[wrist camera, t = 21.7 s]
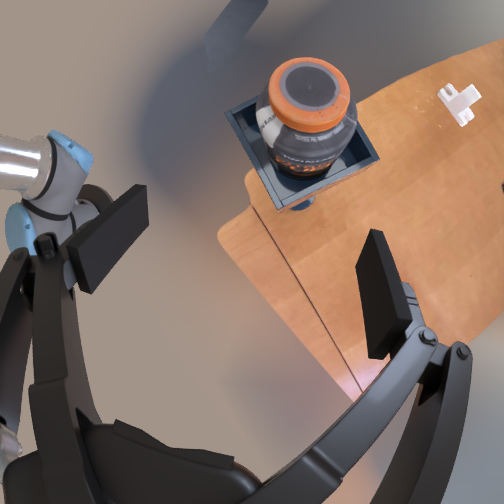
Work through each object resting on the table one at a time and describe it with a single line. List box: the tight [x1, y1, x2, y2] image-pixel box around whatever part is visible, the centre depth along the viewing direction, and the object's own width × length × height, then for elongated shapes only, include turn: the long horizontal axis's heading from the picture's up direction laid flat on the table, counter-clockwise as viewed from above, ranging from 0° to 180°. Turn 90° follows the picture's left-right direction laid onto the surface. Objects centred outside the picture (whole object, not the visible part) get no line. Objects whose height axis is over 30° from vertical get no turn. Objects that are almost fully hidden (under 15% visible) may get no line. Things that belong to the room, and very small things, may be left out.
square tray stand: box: [224, 95, 380, 213], centre depth 36 cm, size 8×8×36 cm
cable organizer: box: [437, 84, 481, 127], centre depth 41 cm, size 5×10×10 cm, turn 37°
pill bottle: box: [256, 57, 358, 181], centre depth 17 cm, size 6×6×11 cm
